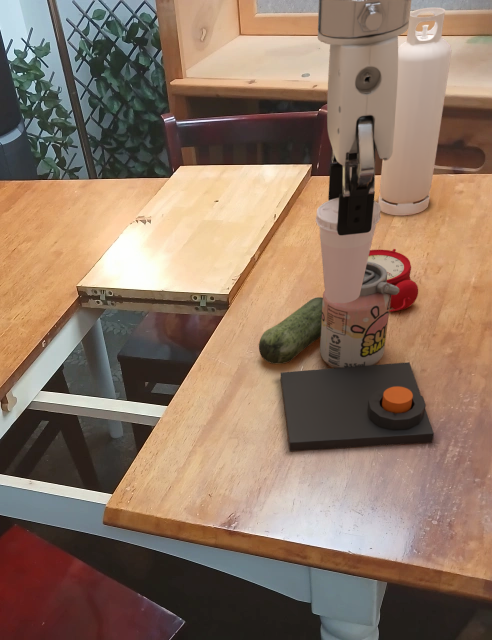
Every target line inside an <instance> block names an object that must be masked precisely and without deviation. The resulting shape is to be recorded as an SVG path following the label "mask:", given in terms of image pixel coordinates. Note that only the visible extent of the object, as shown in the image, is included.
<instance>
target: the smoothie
mask: <svg viewBox="0 0 492 640" xmlns="http://www.w3.org/2000/svg"><path fill="white" fill-rule="evenodd" d="M351 174H352V167H350V180H351ZM338 206H339V198H335V199H332V200H327V201H325V202H323V203H321V204H320V205H319V206H318V207H317V208H316V216H315V223H316V225H317V226H318V227H319V240H320V250H321V263H322V274H323V285H324V286H323V287H324V290H325V297H326V298H327V299H328V300H329V301H331V302H335V303H348V302H352V301H354V300H356V299H357V298H358V297H359V295H360V291H361V287H362V283H363V278H364V274H365V270H366V265H367V261H368V257H369V252H370V250H371V248H372V244H373V239H374V235H375V230H376V225H377V224H378V223H379V222H380V220H381V218H382V216H381V212H382V211H381V206H380V205H379V203H378V201H376V200H375V199H374V206H373V216H372V227H371V230H370V231H369V232H367V233H359V234H350V235H339V234H338V232H337V222H338Z"/></svg>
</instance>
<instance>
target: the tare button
mask: <svg viewBox="0 0 492 640" xmlns="http://www.w3.org/2000/svg"><path fill="white" fill-rule="evenodd" d="M412 398H413V394H412V392H411V391H410V390H409V389H407V388H404V387H398V386H397V387H391V388H388V389H386V390H385V391H384V393H383V401H382V407H383V409H384V410H386V411H388V412H392V413H405V412H407V411H409V410H410V408H411V404H412Z"/></svg>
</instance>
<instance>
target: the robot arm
mask: <svg viewBox="0 0 492 640" xmlns="http://www.w3.org/2000/svg"><path fill="white" fill-rule="evenodd" d="M412 1H413V0H318V10H317V11H318V12H317V13H318V15H317V39H318V41H319V42H320V43H323V44H327V45H329V57H328V58H329V59H328V73H327V75H328V76H327V78H328V79H327V97H326V99H327V100H326V101H327V102H326V103H327V104H326V122H327V123H326V125H327V126H326V127H327V135H328V139H329V142H330V145H331V148H332V149H331V163H330V164H329V179H328V197H327V199H328V200H327V201H329V200H332V199H335V198H339V206H338V222H337V232H338V234H339V235H350V234H359V233H367V232H369V231H370V230H371V227H372V216H373V206H374V200H375V196H376V195H375V193H376V188H375V187H376V186H375V185H376V154H377V156H378V157H379V159H380V160H382V161H383V160H384V161H386V160H388V159H389V158H390V157H391V156H392V153H393V141H394V127H395V112H396V98H397V81H398V47H399V37H400V36H402V35H403V34H404V33H406V32H408V27H409V19H410V13H411V10H412V9H411V7H412ZM350 167H352V174H351V180H350Z"/></svg>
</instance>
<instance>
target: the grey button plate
mask: <svg viewBox="0 0 492 640" xmlns="http://www.w3.org/2000/svg"><path fill="white" fill-rule="evenodd" d="M279 378H280V389H281V396H282V404H283V413H284V419H285V424H286V425H285V426H286V435H287V442H288V443H287V444H288V449H289V452H301V451H315V450H318V451H319V450H332V449H347V448H349V449H350V448H363V447H380V446H381V447H382V446H395V445H398V446H399V445H412V444H428V443H433V440H434V436H435V435H434V434H435V433H434V430H433V427H432V424H431V421H430V418H429V415H428V413H427V409H426V407H427V405H426V402H425V401H426V400H425V399H424V396H423V395H421V391H420V388H419V386H418V383H417V380H416V377H415V375H414V372H413V368H412V366H411V362H408V361H407V362H395V363H394V362H393V363H381V364H375V365H368V366H355V367H343V368H333V367H330V368H320V369H305V370H294V371H293V370H292V371H282V372H280V377H279ZM397 386H398V387H404V388H407V389H409V390H410V391H411V392H412V394H413V398H412V404H411V408H410V410H409V411H407V412H405V413H392V412H388V411H386V410H384V409H383V407H382V401H383V393H384V391H385V390H386V389H388V388H391V387H397Z"/></svg>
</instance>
